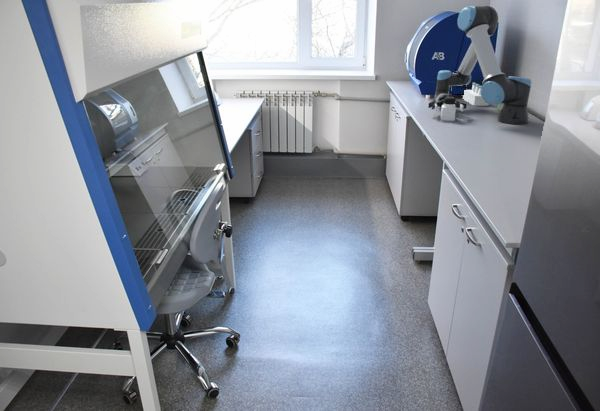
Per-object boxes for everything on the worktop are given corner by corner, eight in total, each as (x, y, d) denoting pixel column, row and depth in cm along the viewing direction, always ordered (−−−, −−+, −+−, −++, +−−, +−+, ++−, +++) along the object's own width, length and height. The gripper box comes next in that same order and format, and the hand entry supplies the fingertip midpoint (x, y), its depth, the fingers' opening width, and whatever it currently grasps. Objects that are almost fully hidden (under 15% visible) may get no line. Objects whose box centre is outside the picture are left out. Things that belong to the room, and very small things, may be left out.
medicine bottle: (454, 121, 262) (457, 98, 258) (441, 120, 264) (443, 98, 259) (453, 118, 269) (456, 96, 264) (440, 117, 270) (442, 95, 265)
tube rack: (488, 105, 299) (491, 87, 295) (473, 105, 299) (476, 87, 295) (476, 98, 319) (478, 81, 315) (462, 99, 319) (464, 81, 315)
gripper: (465, 108, 280) (472, 116, 261) (421, 107, 283) (425, 115, 264) (467, 94, 277) (474, 102, 258) (422, 94, 280) (426, 101, 261)
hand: (449, 108), depth 261 cm, fingers open, 13 cm apart
